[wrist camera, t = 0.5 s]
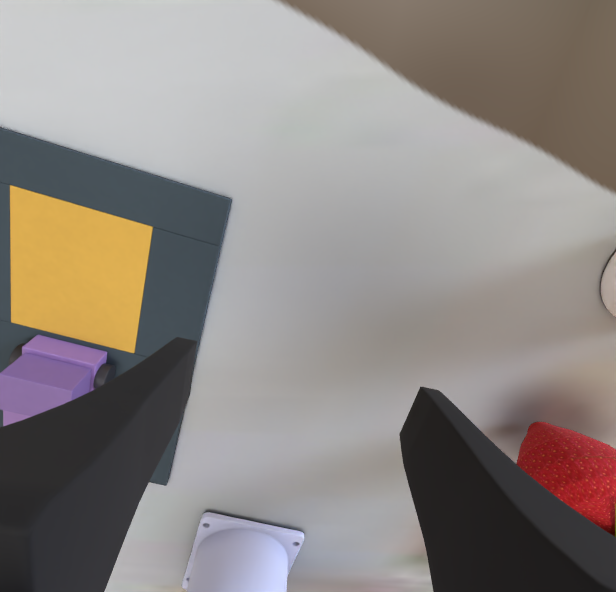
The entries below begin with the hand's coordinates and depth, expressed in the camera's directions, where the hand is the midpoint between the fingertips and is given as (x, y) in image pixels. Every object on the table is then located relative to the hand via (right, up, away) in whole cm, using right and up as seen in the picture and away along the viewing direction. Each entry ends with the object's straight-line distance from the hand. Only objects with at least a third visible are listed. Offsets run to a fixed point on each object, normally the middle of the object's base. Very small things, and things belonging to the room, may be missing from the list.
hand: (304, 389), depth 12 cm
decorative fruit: (+15, -8, +9) cm, 19 cm away
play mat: (-14, +1, +11) cm, 17 cm away
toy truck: (-15, -3, +12) cm, 19 cm away
